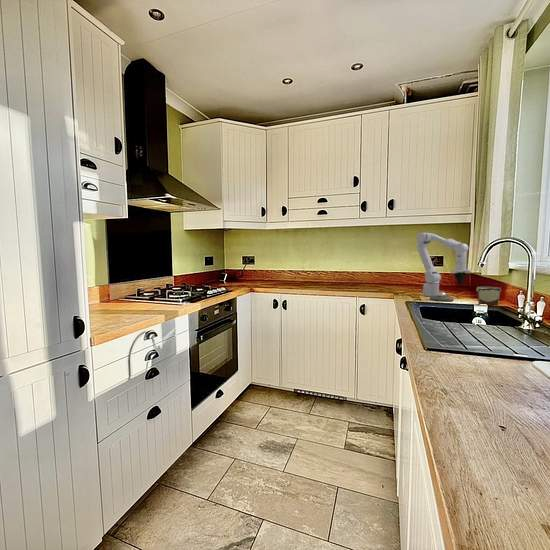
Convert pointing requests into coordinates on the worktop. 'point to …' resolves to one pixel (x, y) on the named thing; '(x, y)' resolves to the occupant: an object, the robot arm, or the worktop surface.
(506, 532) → the worktop surface
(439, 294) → the cover
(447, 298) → the turntable
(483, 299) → the food container
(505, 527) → the worktop surface
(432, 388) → the worktop surface
